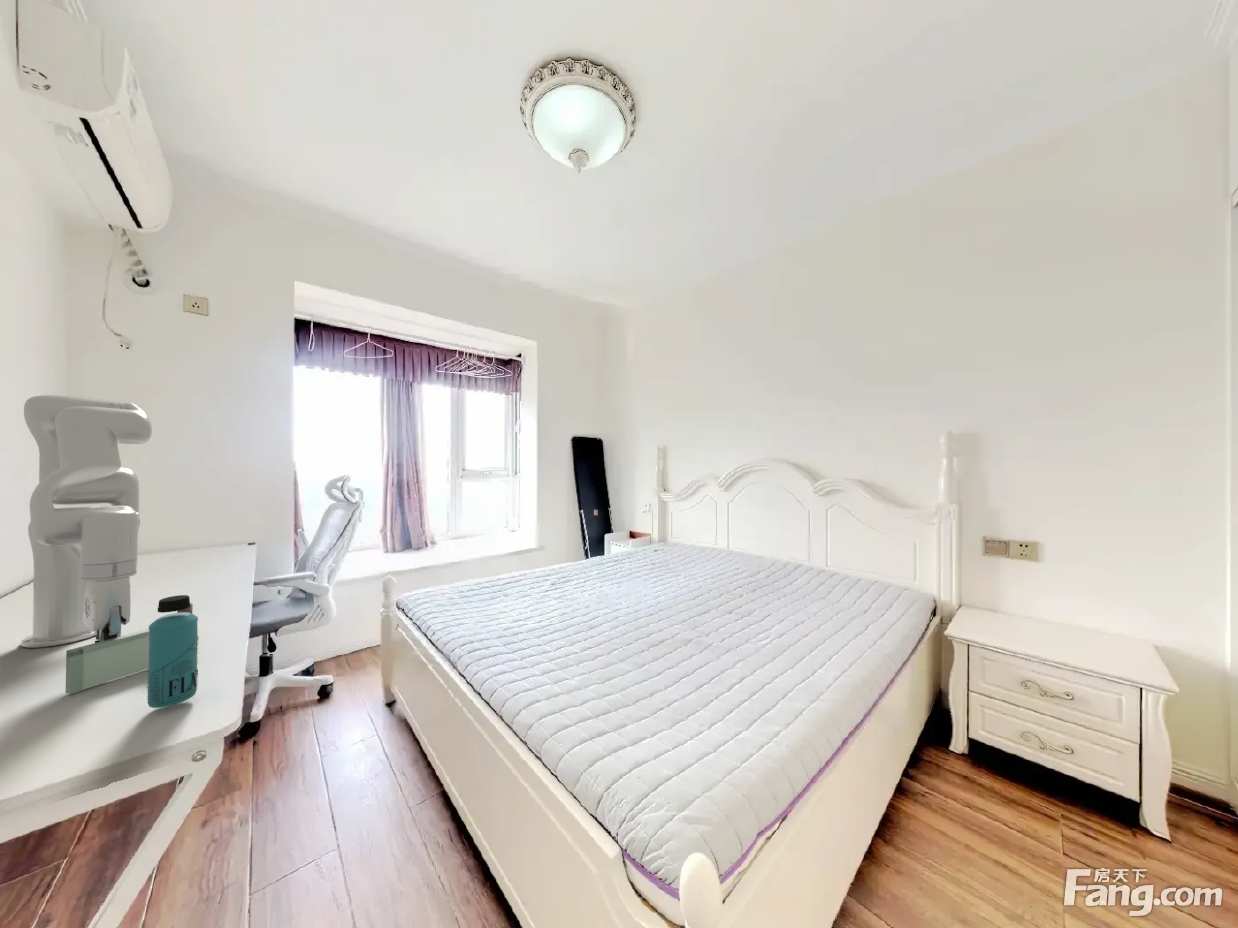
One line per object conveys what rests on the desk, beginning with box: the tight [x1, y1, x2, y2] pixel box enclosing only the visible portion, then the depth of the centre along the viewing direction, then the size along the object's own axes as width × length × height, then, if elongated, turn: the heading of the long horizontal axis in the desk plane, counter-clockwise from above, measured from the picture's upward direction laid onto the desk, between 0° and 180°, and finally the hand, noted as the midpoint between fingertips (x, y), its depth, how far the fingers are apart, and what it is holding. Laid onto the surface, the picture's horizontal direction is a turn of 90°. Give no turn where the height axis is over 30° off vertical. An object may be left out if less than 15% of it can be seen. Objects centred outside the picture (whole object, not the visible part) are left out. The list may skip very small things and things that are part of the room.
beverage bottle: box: [146, 594, 200, 709], centre depth 77 cm, size 6×7×20 cm
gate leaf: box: [65, 628, 149, 695], centre depth 86 cm, size 14×2×8 cm, turn 160°
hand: (107, 657), depth 87 cm, fingers closed
